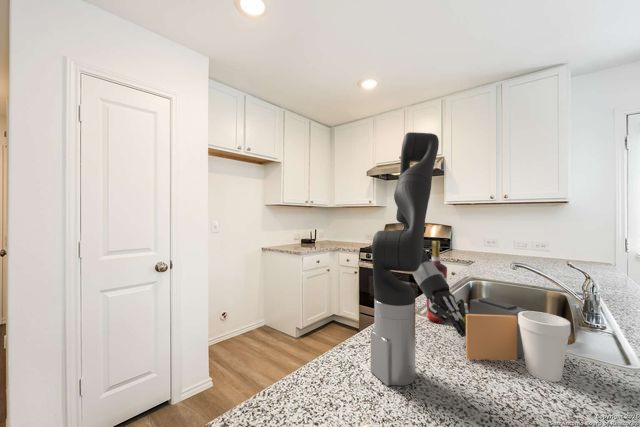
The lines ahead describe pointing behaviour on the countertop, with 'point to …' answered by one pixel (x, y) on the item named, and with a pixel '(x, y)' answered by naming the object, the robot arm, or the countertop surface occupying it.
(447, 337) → the countertop surface
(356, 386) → the countertop surface
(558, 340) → the foam cup
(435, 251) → the liquor
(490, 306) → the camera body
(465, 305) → the supplement bottle
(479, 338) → the side door
